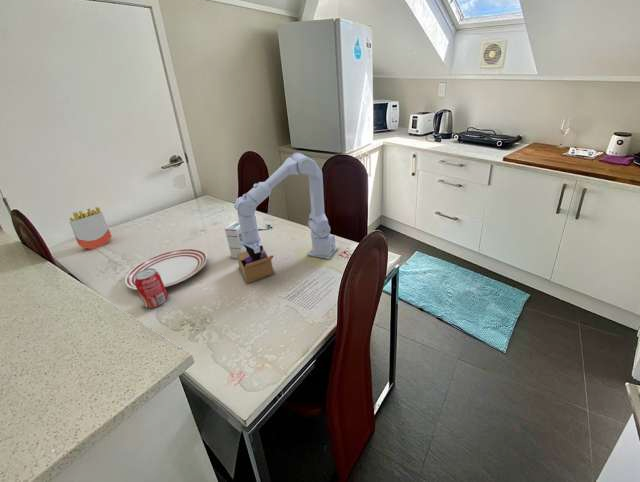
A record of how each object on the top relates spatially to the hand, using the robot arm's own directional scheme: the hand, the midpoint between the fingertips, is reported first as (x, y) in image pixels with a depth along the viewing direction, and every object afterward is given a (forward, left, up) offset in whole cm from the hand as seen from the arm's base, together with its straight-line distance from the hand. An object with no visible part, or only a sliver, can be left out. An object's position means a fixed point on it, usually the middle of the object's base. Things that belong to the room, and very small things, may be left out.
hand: (255, 260), depth 118 cm
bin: (+2, -2, -6) cm, 7 cm away
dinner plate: (+34, +10, -7) cm, 36 cm away
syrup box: (+16, -9, -7) cm, 19 cm away
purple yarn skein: (0, 0, -2) cm, 2 cm away
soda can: (+24, +24, -7) cm, 34 cm away
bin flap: (-4, +3, +2) cm, 6 cm away
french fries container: (+85, +4, -7) cm, 85 cm away
